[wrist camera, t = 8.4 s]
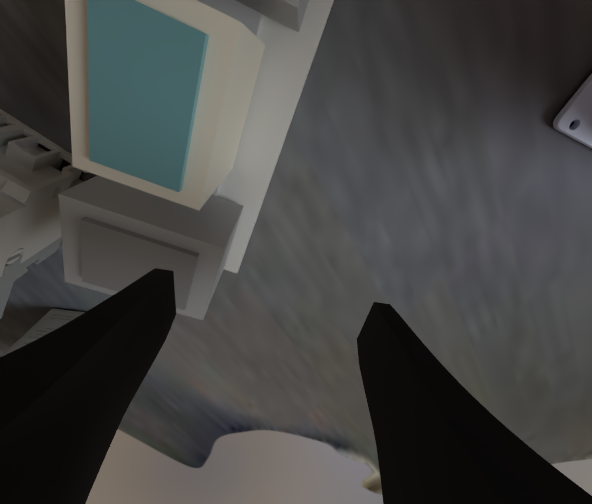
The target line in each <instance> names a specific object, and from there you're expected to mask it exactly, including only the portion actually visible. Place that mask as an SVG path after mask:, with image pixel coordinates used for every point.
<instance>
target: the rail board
mask: <svg viewBox="0 0 592 504" xmlns="http://www.w3.org/2000/svg"><path fill="white" fill-rule="evenodd" d="M197 1H199V2H201V3H203V4H205V5H207V6H209V7H211V8H213V9H215V10H217V11H220V12H222V13H224V14H226V15H228V16H230V17H232V18H234V19H236V20H238V21H240V22H241V23H243V24H244V25H245V26H246V27H247V28H248V29H249V30H250V31H251V32H252V33H253V34H254V35H255V36H256V37H257V38H258V39H260V40H261V41H262V42H263V43H264V44H265V48H264V52H263V56H262V60H261V63H260V67H259V71H258V74H257V78H256V82H255V86H254V89H253V93H252V97H251V101H250V104H249V108H248V112H247V116H246V119H245V123H244V127H243V131H242V134H241V138H240V142H239V146H238V149H237V153H236V157H235V161H234V164H233V168H232V169H231V170H230V172H229V173H228V174H227V176H226V177H225V178H224V179H223V181H222V182H221V183H220V185H219V186H218V187H217V188H216V190H215V191H214V192H213V194H212V195H211V196H210V197H209V199H208V200H207V201H206V203H205V204H204V205H203V206H202V208H201V209H200V210H196V209H193V208H190V207H187V206H185V205H182V204H179V203H176V202H173V201H170V200H167V199H164V198H162V197H159V196H156V195H153V194H150V193H147V192H144V191H142V190H139V189H136V188H133V187H130V186H127V185H124V184H121V183H119V182H116V181H113V180H110V179H107V178H104V177H101V176H98V175H97V176H95V177H93V178H91V179H89V180H87V181H85V182H82V183H80V184H78V185H76V186H74V187H72V188H70V189H68V190H66V191H63V192H61V193H59V208H60V221H61V235H62V248H63V262H64V275H65V282H67V283H71V284H74V285H78V286H81V287H85V288H89V289H92V290H96V291H99V292H103V293H107V294H110V295H115V294H116V293H118V292H119V291H121V290H122V289H124V288H125V287H127V286H128V285H130V284H132V283H133V282H135V281H136V280H138V279H139V278H141V277H142V276H144V275H145V274H147V273H148V272H150V271H152V270H153V269H155V268H158V269H164V270H171V271H173V272H174V287H175V302H176V313H179V314H182V315H186V316H190V317H193V318H197V319H200V320H203V318H204V316H205V313H206V311H207V308H208V306H209V304H210V301H211V299H212V296H213V294H214V291H215V289H216V286H217V284H218V282H219V279H220V277H221V274H222V272H223V269H224V270H228V271H231V272H234V273H238V270H239V267H240V265H241V262H242V259H243V256H244V253H245V250H246V248H247V245H248V242H249V239H250V236H251V233H252V231H253V228H254V225H255V222H256V219H257V217H258V214H259V211H260V208H261V205H262V202H263V200H264V197H265V194H266V191H267V188H268V185H269V183H270V180H271V177H272V174H273V171H274V168H275V166H276V163H277V160H278V157H279V154H280V152H281V149H282V146H283V143H284V140H285V137H286V135H287V132H288V129H289V126H290V123H291V120H292V118H293V115H294V112H295V109H296V106H297V103H298V101H299V98H300V95H301V92H302V89H303V87H304V84H305V81H306V78H307V75H308V72H309V70H310V67H311V64H312V61H313V58H314V55H315V53H316V50H317V47H318V44H319V41H320V39H321V36H322V33H323V30H324V27H325V24H326V22H327V19H328V16H329V13H330V10H331V7H332V5H333V2H334V0H197Z"/></svg>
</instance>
